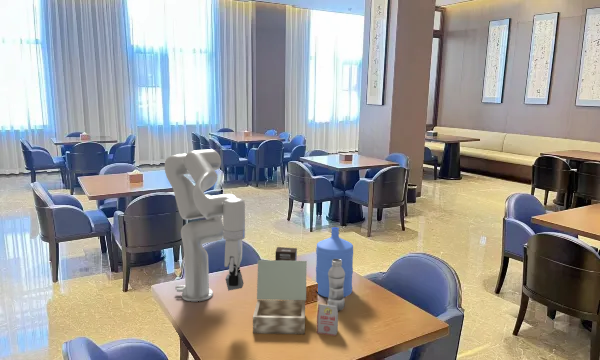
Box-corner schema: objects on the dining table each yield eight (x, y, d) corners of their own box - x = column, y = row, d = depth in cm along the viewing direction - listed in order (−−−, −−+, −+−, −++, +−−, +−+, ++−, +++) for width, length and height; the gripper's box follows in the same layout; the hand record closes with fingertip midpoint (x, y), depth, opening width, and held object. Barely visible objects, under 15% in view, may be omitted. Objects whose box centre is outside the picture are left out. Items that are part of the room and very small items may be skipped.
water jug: (353, 299, 186) (355, 233, 181) (315, 298, 186) (316, 233, 181) (350, 284, 201) (352, 223, 196) (315, 284, 201) (316, 223, 197)
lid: (258, 260, 173) (258, 260, 174) (256, 299, 171) (257, 299, 172) (306, 261, 172) (306, 260, 174) (306, 300, 170) (306, 299, 171)
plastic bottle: (343, 313, 173) (344, 263, 170) (326, 312, 174) (327, 262, 171) (345, 306, 179) (346, 258, 176) (328, 304, 180) (329, 256, 177)
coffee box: (274, 286, 198) (274, 251, 195) (276, 280, 204) (276, 246, 202) (295, 287, 197) (295, 252, 195) (296, 281, 203) (297, 247, 201)
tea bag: (319, 328, 162) (319, 301, 160) (337, 330, 160) (338, 304, 158) (316, 333, 158) (317, 306, 156) (335, 335, 156) (336, 308, 155)
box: (252, 333, 158) (252, 317, 157) (257, 314, 171) (257, 299, 170) (304, 334, 157) (304, 318, 156) (305, 315, 171) (305, 300, 170)
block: (228, 290, 160) (225, 278, 159) (230, 286, 164) (227, 274, 163) (242, 288, 159) (239, 276, 159) (243, 283, 163) (240, 272, 163)
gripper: (227, 226, 166) (228, 273, 170) (218, 240, 150) (219, 292, 153) (248, 227, 166) (248, 274, 169) (241, 241, 150) (241, 293, 153)
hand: (234, 282), depth 161 cm, fingers closed on block, 4 cm apart
